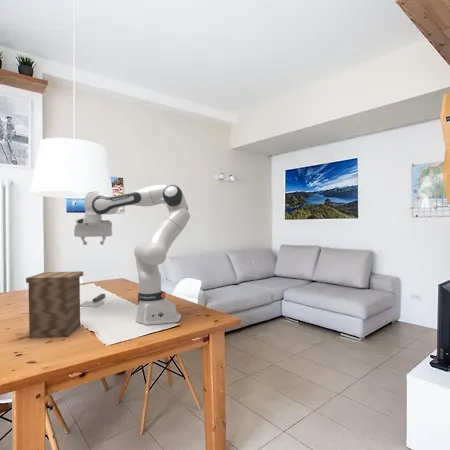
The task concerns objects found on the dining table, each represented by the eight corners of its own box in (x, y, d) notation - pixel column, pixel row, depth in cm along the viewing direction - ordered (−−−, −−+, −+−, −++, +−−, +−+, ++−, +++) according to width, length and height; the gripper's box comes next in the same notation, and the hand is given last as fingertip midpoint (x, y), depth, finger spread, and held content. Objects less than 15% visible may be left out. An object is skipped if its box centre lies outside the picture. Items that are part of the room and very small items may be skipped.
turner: (111, 297, 209) (111, 293, 209) (97, 307, 184) (97, 303, 184) (94, 297, 208) (94, 293, 208) (78, 307, 183) (78, 303, 183)
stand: (84, 324, 152) (83, 271, 152) (70, 336, 136) (69, 277, 136) (45, 326, 151) (44, 272, 151) (27, 338, 135) (25, 278, 135)
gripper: (113, 220, 182) (113, 243, 182) (77, 220, 181) (77, 244, 181) (110, 220, 176) (110, 244, 176) (72, 220, 174) (73, 245, 175)
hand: (93, 244), depth 178 cm, fingers open, 8 cm apart
